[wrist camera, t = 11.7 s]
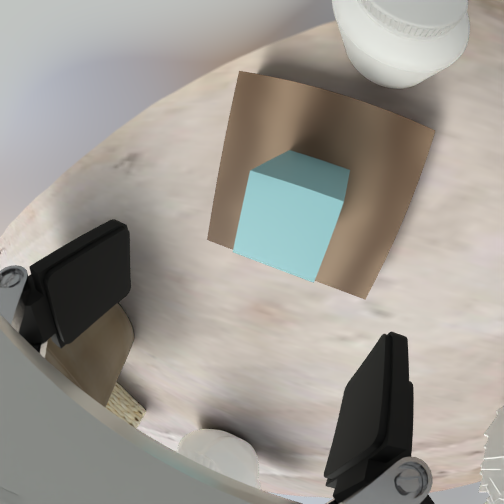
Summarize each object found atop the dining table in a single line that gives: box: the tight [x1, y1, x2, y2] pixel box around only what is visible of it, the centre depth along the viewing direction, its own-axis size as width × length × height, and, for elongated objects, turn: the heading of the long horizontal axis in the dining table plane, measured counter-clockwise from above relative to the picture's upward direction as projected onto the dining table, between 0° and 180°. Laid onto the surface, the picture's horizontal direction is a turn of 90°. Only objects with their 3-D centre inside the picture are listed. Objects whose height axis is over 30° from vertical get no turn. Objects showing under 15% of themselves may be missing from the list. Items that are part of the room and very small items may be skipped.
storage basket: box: [106, 382, 146, 428], centre depth 61 cm, size 24×16×15 cm
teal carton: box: [233, 150, 350, 283], centre depth 20 cm, size 5×5×9 cm
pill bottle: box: [332, 0, 470, 89], centre depth 13 cm, size 8×8×15 cm
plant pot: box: [45, 303, 134, 408], centre depth 40 cm, size 25×25×22 cm
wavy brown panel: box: [207, 71, 435, 299], centre depth 25 cm, size 16×16×4 cm
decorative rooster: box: [176, 429, 263, 491], centre depth 46 cm, size 25×16×25 cm, turn 32°
